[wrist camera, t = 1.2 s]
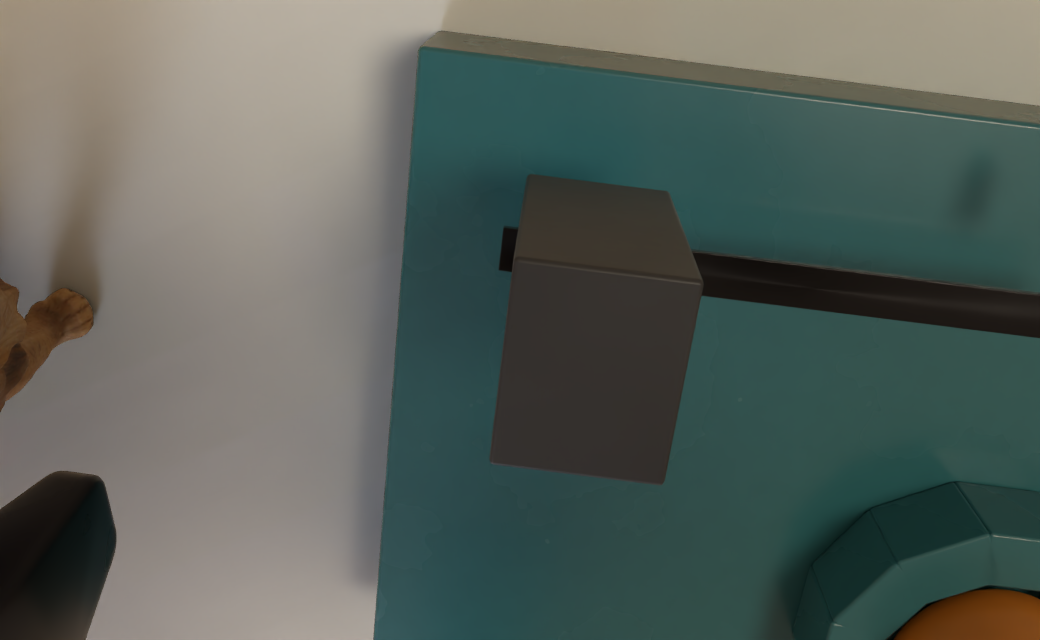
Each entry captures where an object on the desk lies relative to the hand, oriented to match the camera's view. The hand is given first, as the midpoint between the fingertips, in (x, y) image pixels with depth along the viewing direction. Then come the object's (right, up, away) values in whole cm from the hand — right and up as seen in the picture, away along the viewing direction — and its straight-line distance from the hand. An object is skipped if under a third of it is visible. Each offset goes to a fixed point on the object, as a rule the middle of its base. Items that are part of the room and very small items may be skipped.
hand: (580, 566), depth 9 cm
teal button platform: (+5, +1, +14) cm, 15 cm away
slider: (+1, +3, +8) cm, 8 cm away
